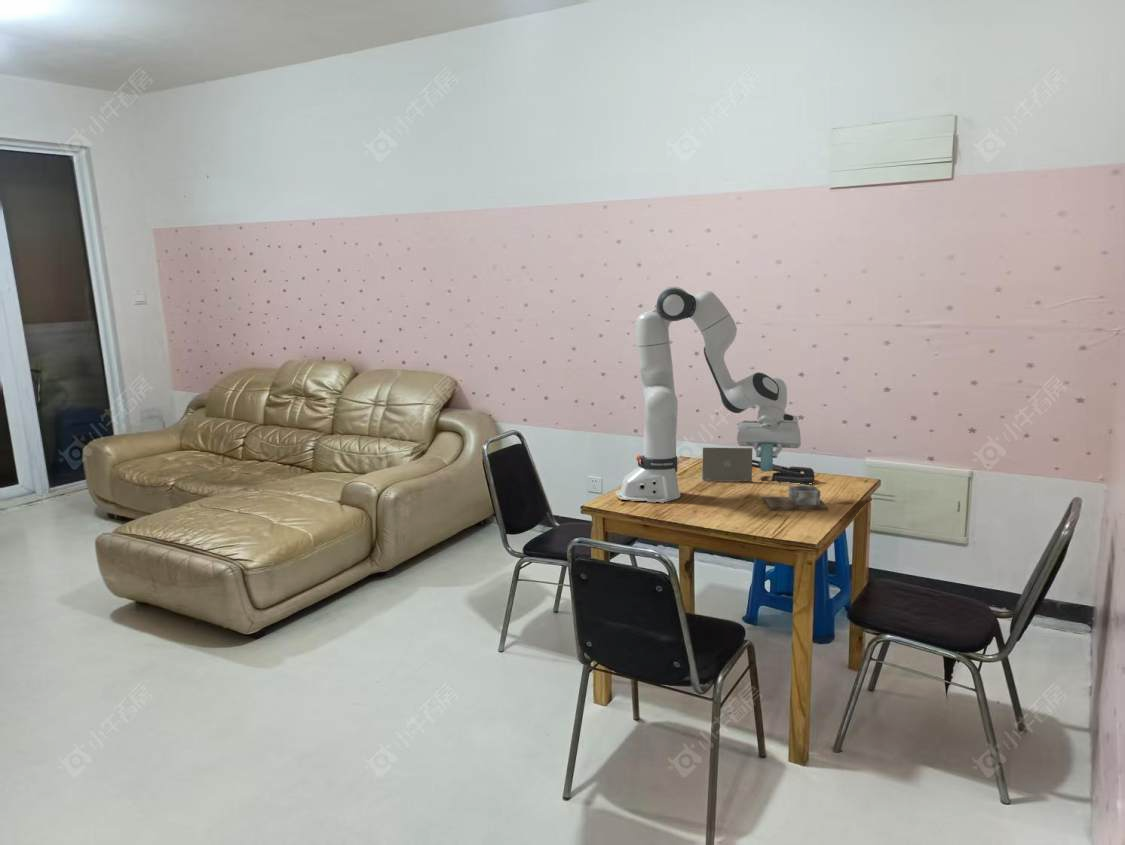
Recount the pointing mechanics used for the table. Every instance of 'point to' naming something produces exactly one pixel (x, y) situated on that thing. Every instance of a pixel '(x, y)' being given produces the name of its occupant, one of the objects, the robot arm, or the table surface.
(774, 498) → the walnut socket board
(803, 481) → the black stapler
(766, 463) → the teal rounded oblong piece
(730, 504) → the table surface
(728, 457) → the laptop
